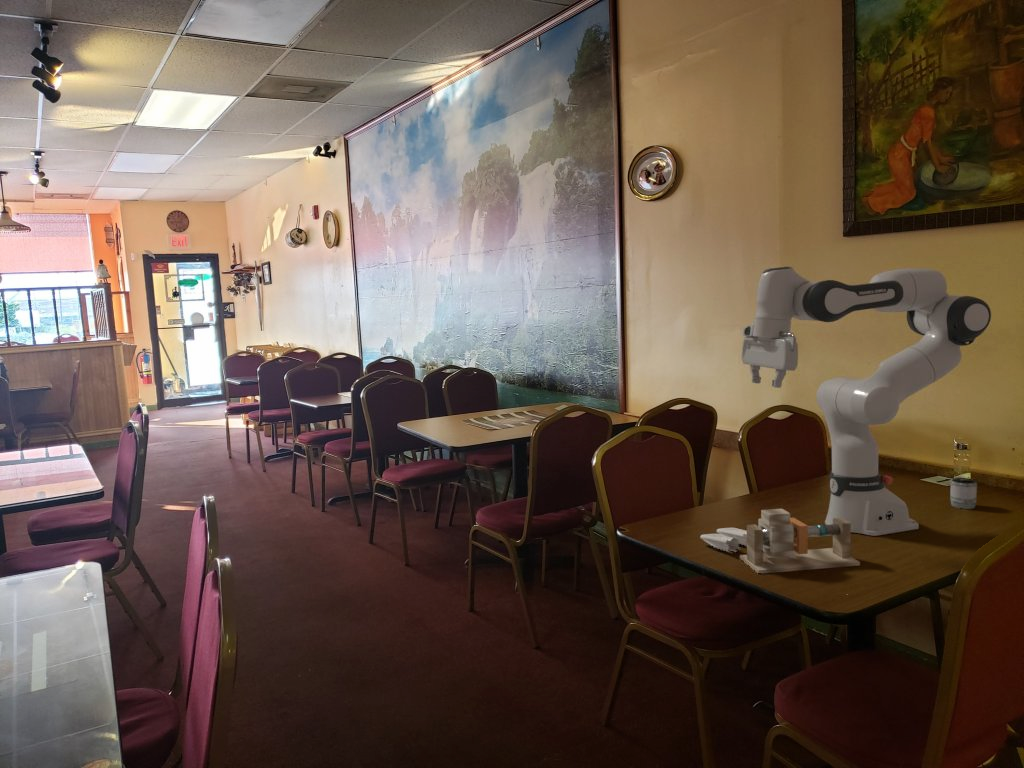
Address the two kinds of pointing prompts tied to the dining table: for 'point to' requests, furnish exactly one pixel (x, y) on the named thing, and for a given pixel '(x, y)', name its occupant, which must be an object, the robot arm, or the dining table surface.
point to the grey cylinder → (963, 493)
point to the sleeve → (777, 533)
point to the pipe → (812, 531)
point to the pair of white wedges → (726, 539)
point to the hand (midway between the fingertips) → (765, 385)
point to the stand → (812, 560)
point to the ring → (800, 536)
